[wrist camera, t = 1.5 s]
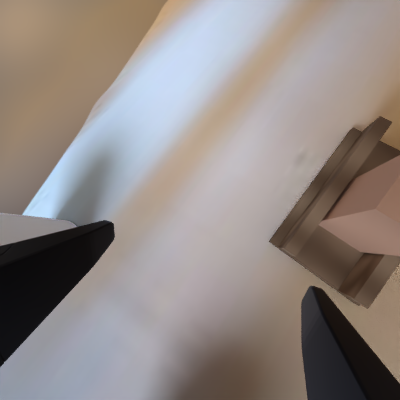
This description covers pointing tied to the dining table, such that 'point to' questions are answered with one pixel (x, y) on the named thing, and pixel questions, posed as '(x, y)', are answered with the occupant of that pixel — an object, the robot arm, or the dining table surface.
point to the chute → (327, 242)
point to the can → (28, 227)
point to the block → (369, 211)
